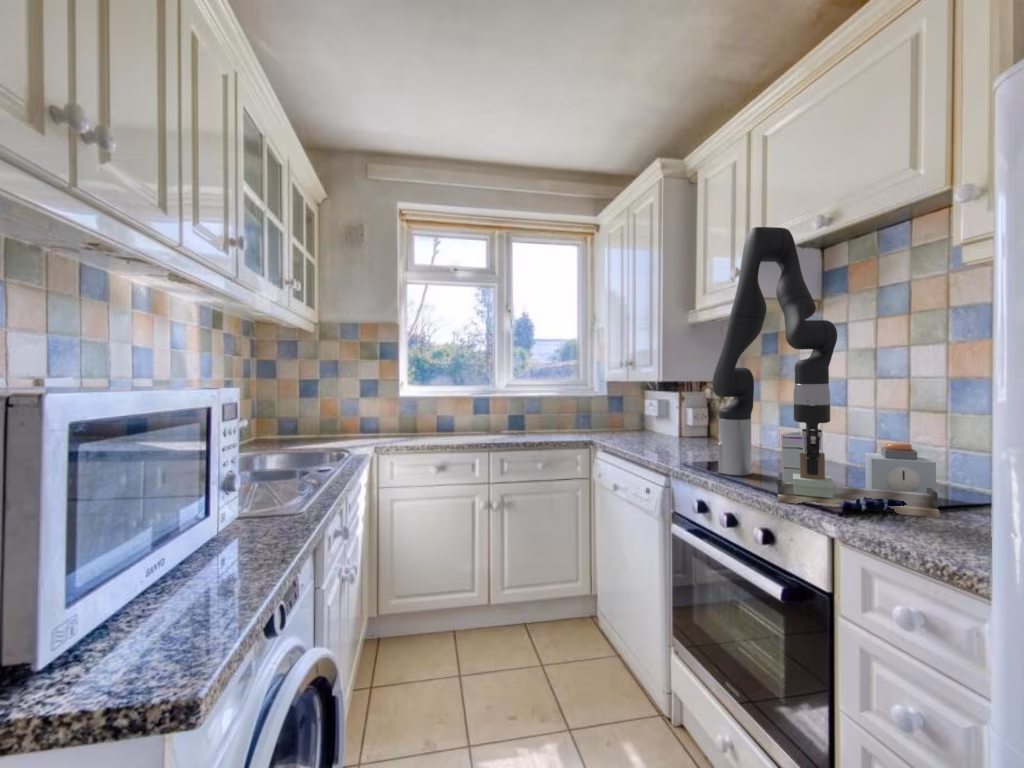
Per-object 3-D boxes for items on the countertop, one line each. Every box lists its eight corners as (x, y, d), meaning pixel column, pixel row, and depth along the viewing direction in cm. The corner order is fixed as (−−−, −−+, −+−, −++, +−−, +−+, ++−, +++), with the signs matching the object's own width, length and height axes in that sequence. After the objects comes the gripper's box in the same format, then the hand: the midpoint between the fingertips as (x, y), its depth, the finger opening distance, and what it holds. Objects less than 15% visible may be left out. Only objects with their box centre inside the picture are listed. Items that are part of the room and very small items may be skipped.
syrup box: (806, 488, 128) (805, 434, 128) (781, 485, 132) (780, 433, 132) (808, 483, 133) (807, 432, 133) (784, 481, 137) (783, 431, 136)
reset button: (887, 456, 116) (887, 444, 116) (883, 453, 120) (883, 442, 120) (913, 458, 114) (913, 446, 114) (909, 454, 118) (909, 443, 118)
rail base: (777, 501, 115) (777, 481, 115) (778, 494, 122) (777, 475, 122) (939, 517, 100) (939, 494, 100) (929, 508, 107) (929, 486, 107)
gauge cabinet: (872, 500, 115) (872, 451, 115) (865, 490, 125) (865, 445, 124) (937, 506, 109) (936, 454, 109) (924, 495, 119) (924, 447, 118)
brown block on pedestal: (793, 495, 114) (793, 454, 114) (793, 489, 120) (792, 449, 120) (833, 499, 110) (833, 456, 110) (830, 492, 116) (830, 451, 116)
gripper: (793, 400, 123) (793, 467, 123) (794, 404, 111) (794, 477, 111) (827, 401, 119) (828, 469, 119) (832, 404, 107) (833, 480, 107)
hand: (812, 473), depth 115 cm, fingers closed on brown block on pedestal, 2 cm apart
